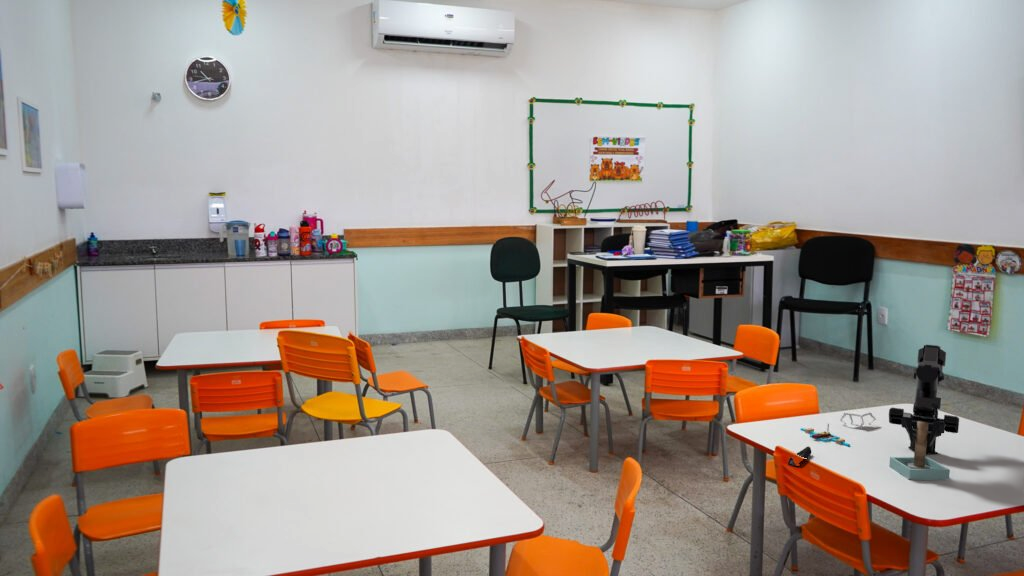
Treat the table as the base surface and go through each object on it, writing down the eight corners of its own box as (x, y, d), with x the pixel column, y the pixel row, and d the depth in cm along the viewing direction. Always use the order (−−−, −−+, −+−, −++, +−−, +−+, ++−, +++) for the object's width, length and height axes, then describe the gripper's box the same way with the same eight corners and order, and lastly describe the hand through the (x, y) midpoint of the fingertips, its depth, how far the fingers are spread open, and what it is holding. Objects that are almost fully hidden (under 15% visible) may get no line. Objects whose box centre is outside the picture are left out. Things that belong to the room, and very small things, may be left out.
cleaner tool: (913, 465, 231) (917, 418, 230) (933, 470, 226) (937, 423, 225) (903, 468, 227) (908, 420, 227) (924, 473, 223) (928, 425, 222)
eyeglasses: (856, 431, 269) (856, 417, 268) (838, 424, 276) (839, 411, 276) (881, 427, 273) (882, 414, 272) (863, 421, 281) (864, 408, 280)
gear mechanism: (837, 449, 249) (856, 446, 253) (838, 434, 248) (857, 430, 252) (790, 433, 266) (809, 429, 271) (791, 418, 266) (810, 415, 270)
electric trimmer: (814, 456, 242) (815, 447, 242) (798, 468, 230) (799, 458, 230) (802, 454, 244) (803, 444, 244) (786, 465, 233) (787, 456, 232)
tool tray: (927, 466, 233) (927, 457, 232) (948, 479, 222) (949, 469, 221) (889, 466, 232) (890, 457, 232) (909, 479, 221) (910, 469, 221)
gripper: (891, 381, 232) (885, 425, 224) (961, 390, 222) (957, 436, 214) (892, 401, 240) (886, 443, 232) (960, 410, 230) (956, 455, 222)
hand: (920, 444), depth 225 cm, fingers open, 4 cm apart
